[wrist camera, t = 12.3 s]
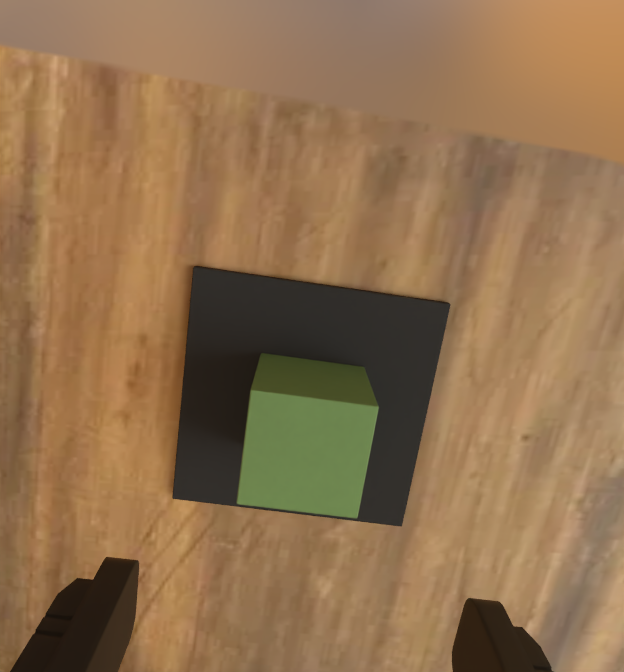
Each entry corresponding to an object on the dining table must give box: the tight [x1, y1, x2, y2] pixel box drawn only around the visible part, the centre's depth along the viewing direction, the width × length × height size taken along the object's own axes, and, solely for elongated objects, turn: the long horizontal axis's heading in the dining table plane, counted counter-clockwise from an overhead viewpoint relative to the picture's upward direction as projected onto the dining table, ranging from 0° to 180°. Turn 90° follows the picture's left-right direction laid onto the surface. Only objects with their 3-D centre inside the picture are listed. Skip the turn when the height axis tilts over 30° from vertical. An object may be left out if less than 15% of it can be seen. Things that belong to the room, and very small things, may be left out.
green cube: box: [237, 353, 379, 518], centre depth 23 cm, size 5×5×5 cm
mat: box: [173, 266, 450, 526], centre depth 25 cm, size 12×12×1 cm
